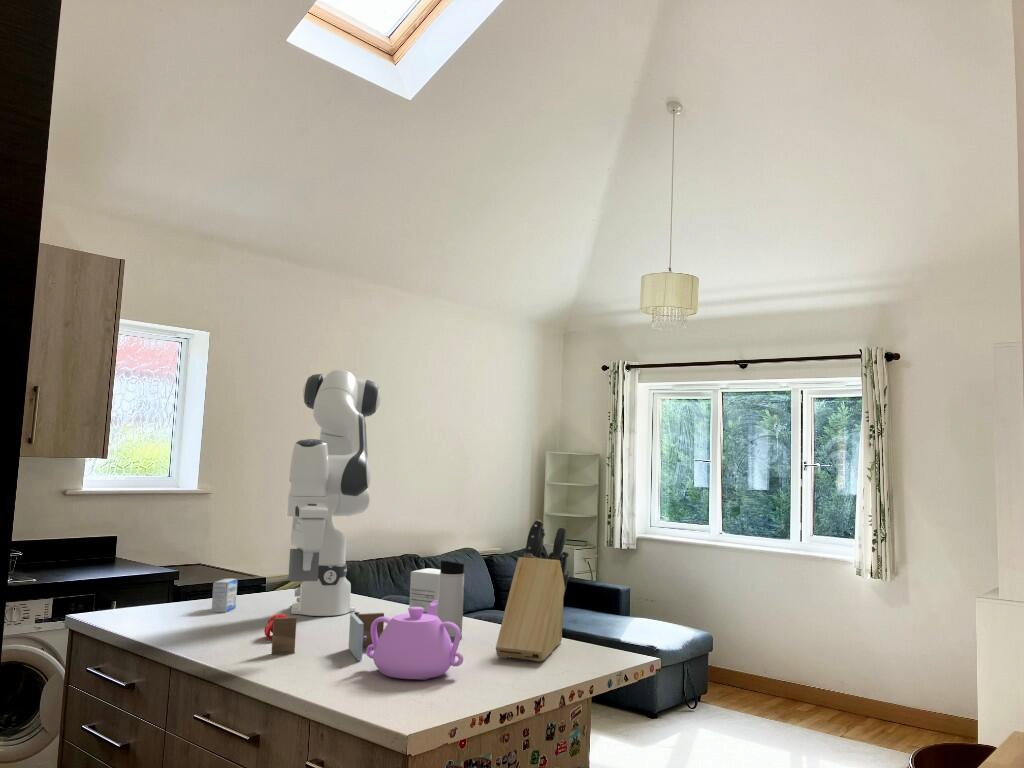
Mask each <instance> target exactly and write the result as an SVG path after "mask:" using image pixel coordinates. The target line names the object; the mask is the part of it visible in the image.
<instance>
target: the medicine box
mask: <svg viewBox="0 0 1024 768" xmlns="http://www.w3.org/2000/svg"><path fill="white" fill-rule="evenodd" d="M237 592H238V579H237V578H223V579H220V580H219V579H218V580H217V581H215V582H213V586H212V597H211V598H212V599H211V601H212V602H211V612H212V613H222V612H224V613H223V614H226V612H227V613H228V612H230V611H232V610H234V609H236V608H237V594H238V593H237Z"/></svg>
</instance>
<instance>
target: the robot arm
mask: <svg viewBox="0 0 1024 768" xmlns="http://www.w3.org/2000/svg"><path fill="white" fill-rule="evenodd" d="M302 398H303V401H304V404H305V406H306V407H307V408H309V409H311V410H313V411H312V412H313V413H312V414H313V418H314V421H315V423H316V424H317V425H318V426H319V427H320V435H319V439H316V438H315V439H314V438H308V439H301V440H298V441H296V442H295V443H294V446H293V450H292V453H291V460H290V468H289V482H290V489H289V492H288V496H287V499H288V500H287V516H288V517H292V523H291V524H292V525H291V535H290V543H291V546H293V547H295V548H296V549H301V550H302V551H303V562H302V569H303V570H304V571H309V570H310V569H311V562H312V558H313V553H315V552H319V568H318V581H302V582H301V583H300V586H298V587H297V588H295V589H294V597H296V601H293V602H292V604H291V610H290V614H293V615H305V616H311V617H312V616H314V617H315V616H317V617H330V616H340V615H345V614H348V613H353V612H356V607H355V606H353V605H351V602H352V599H351V598H352V597H351V594H352V592H351V591H352V590H351V589H352V587H351V585H352V584H351V582H350V580H348V579H347V578H346V576H347V573H348V572H347V571H348V566H347V563H346V558H347V557H346V556H347V537H346V536H345V534H344V533H343V532H342V531H340V530H338V529H337V528H336V527H335V526H334V524H333V521H332V520H333V519H332V518H333V517H351V516H355V515H358V514H362V513H364V512H365V511H366V510H367V509H368V507H369V505H370V501H371V493H370V490H369V487H370V483H371V479H372V478H371V477H372V476H371V467H370V463H369V459H368V458H369V457H368V456H369V454H368V438H367V437H368V436H367V435H368V434H367V425H366V420H365V419H366V417H370V416H373V415H374V414H375V413H376V412H377V410H378V408H379V406H380V404H381V400H382V395H381V390H380V386H379V384H378V383H377V382H376V381H372V380H369V379H367V380H365V379H361V378H359V377H356V376H355V375H354V374H353V373H351V372H350V371H348V370H346V369H334V370H332V371H330V372H328V373H327V374H323V373H318V374H317V373H316V374H312V375H310V376H309V377H307V379H306V382H305V383H304V386H303V389H302Z"/></svg>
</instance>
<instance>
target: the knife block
mask: <svg viewBox="0 0 1024 768" xmlns="http://www.w3.org/2000/svg"><path fill="white" fill-rule="evenodd" d="M543 526H544V522H543V521H542V520H540V519H536V520H535V521H534V522H533V523H532V525H531V527H530V528H529V531H528V536H527V540H526V545H525V551H524V553H523V554H524V555H523V557H520V556H519V557H518V558H517V562H516V566H515V568H514V572H513V577H512V581H511V584H510V589H509V594H508V596H507V602H506V605H505V609H504V613H503V618H502V621H501V626H500V630H499V634H498V638H497V642H496V645H495V652H496V656H497V657H501V658H503V659H507V658H516V659H522V660H529V661H534V662H537V663H540V662H542V661H544V660H546V659H547V658H548V657H549V656H550V654H552V652H553V651H554V650H555V649H556V647H558V646H559V644H560V643H561V642H562V640H563V639H562V638H563V617H564V597H565V594H566V590H567V585H568V581H569V575H570V574H569V573H567V572H566V569H567V562H568V561H567V559H568V558H569V556H570V554H569V552H567V551H565V550H564V546H565V542H566V536H567V530H566V529H565V528H562V527H559V528H558V529H557V531H556V533H555V538H554V541H553V548H552V552H550V553H549V554H548V557H547V553H546V552H545V551H543V547H544V546H543V544H544V538H545V536H546V533H545V528H544V527H543ZM563 550H564V551H563ZM541 557H542V558H541Z"/></svg>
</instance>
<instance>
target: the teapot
mask: <svg viewBox="0 0 1024 768" xmlns="http://www.w3.org/2000/svg"><path fill="white" fill-rule="evenodd" d="M437 605H438V600H434V601H432V602H431V603H430V605H429V608H428V611H427V614H423V611H424V608H422V607H410V608H409V607H408V608H407V611H408V613H403V614H402V613H401V614H396V615H394V616H392V618H390V617H388V616H384V617H379V618H377V619H375V620H374V621H373V622H372V624H371V638H372V643H373V645H369V646H368V647H367V648H366V651H365V652H366V653H365V654H366V656H367V657H369V659H373V662H374V663H373V664H374V665H375V667H376V668H377V669H378V671H379V672H380V673H381V674H382V675H384V676H387V677H389V678H394V679H401V680H402V679H403V680H417V681H418V680H419V681H425V680H426V681H427V680H429V679H432V678H437V677H441V676H442V675H445V674H446V672H447V671H448V670H449V669H450V668H451V667H459V666H461V665H462V664H463V663H464V656H463V654H462V653H461V652H457V651H458V649H459V645H460V641H461V639H460V637H461V632H460V629H459V627H458V626H457V625H456V624H454V623H452V622H443V623H442V622H441V620H440V619H439V618H438V617H437V616H436V609H437ZM379 622H384V623H386V626H384V628H383V632H382V633H381V635H380V637H379V639H378V636H377V624H378V623H379ZM445 627H450V628H452V629H453V630H454V633H455V639H454V641H451V639H450V637H449V634H448V632H447V630H446V629H445ZM372 649H373V650H372ZM456 657H457V658H458V660H456Z"/></svg>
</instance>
